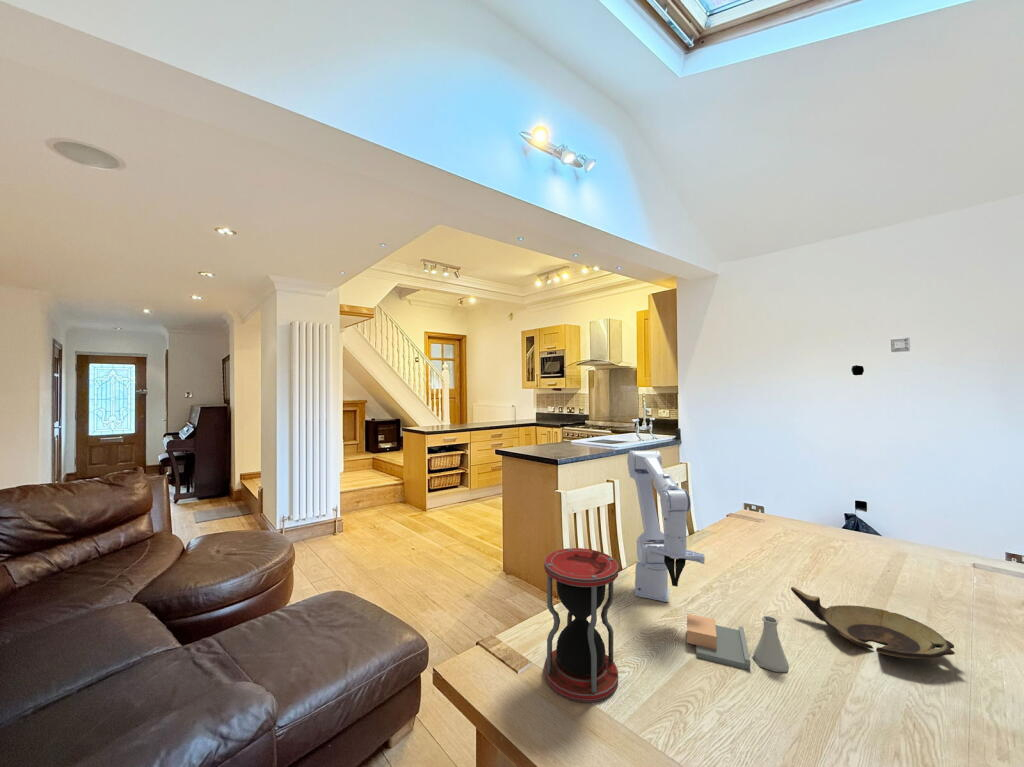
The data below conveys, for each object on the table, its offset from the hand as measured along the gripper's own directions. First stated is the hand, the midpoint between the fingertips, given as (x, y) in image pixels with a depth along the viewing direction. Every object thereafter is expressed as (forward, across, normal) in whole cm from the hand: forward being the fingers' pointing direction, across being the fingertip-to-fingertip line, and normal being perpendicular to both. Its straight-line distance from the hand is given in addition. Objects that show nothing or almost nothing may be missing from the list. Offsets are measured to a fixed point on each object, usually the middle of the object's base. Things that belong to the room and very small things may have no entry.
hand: (674, 584), depth 111 cm
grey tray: (+10, +11, -7) cm, 16 cm away
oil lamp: (+10, +45, +12) cm, 48 cm away
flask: (+10, +21, -8) cm, 25 cm away
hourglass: (+10, -18, -31) cm, 37 cm away
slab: (+7, +3, -7) cm, 10 cm away
